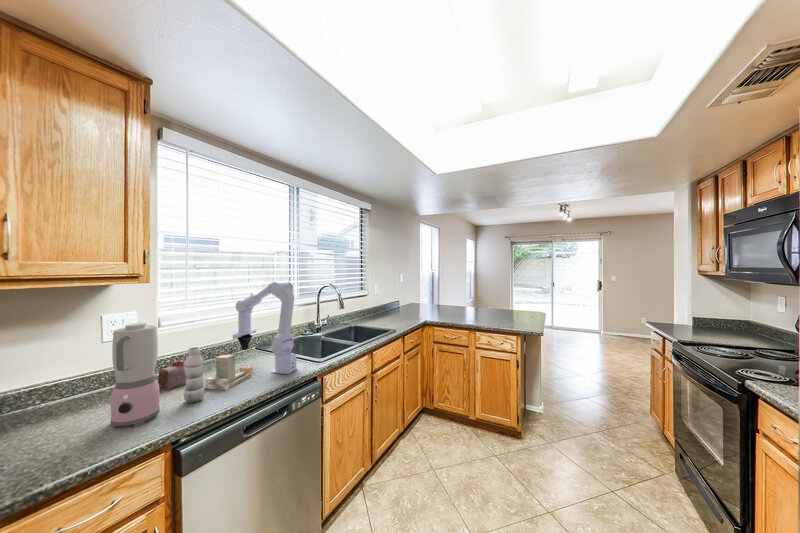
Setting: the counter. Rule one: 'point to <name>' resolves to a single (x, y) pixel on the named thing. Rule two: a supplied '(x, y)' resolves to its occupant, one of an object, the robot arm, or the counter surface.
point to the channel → (223, 382)
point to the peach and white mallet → (244, 371)
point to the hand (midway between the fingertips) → (244, 349)
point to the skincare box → (225, 367)
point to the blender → (134, 375)
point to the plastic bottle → (194, 376)
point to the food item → (172, 376)
